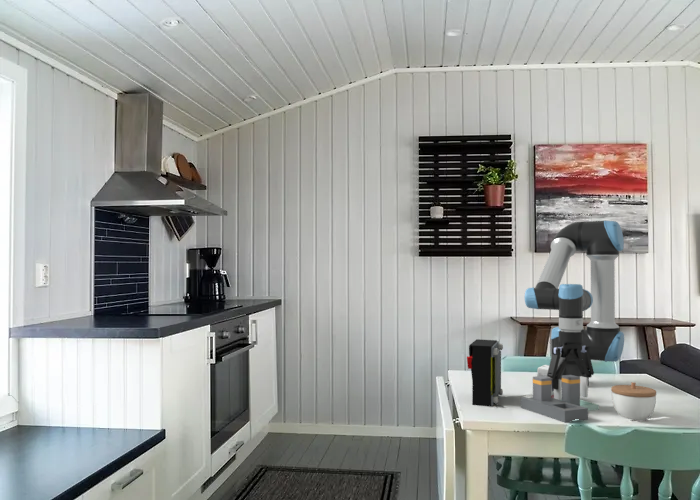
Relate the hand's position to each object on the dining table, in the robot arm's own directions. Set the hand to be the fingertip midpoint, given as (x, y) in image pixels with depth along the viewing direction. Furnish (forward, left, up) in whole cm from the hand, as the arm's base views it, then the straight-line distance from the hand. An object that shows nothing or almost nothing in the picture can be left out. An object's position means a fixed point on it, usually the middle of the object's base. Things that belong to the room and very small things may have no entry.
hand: (570, 397), depth 197 cm
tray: (0, 0, -3) cm, 3 cm away
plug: (0, 0, -3) cm, 3 cm away
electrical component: (-20, -19, -4) cm, 28 cm away
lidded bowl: (+17, +9, -4) cm, 20 cm away
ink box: (-12, +1, -4) cm, 13 cm away
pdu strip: (+5, -12, -3) cm, 13 cm away
